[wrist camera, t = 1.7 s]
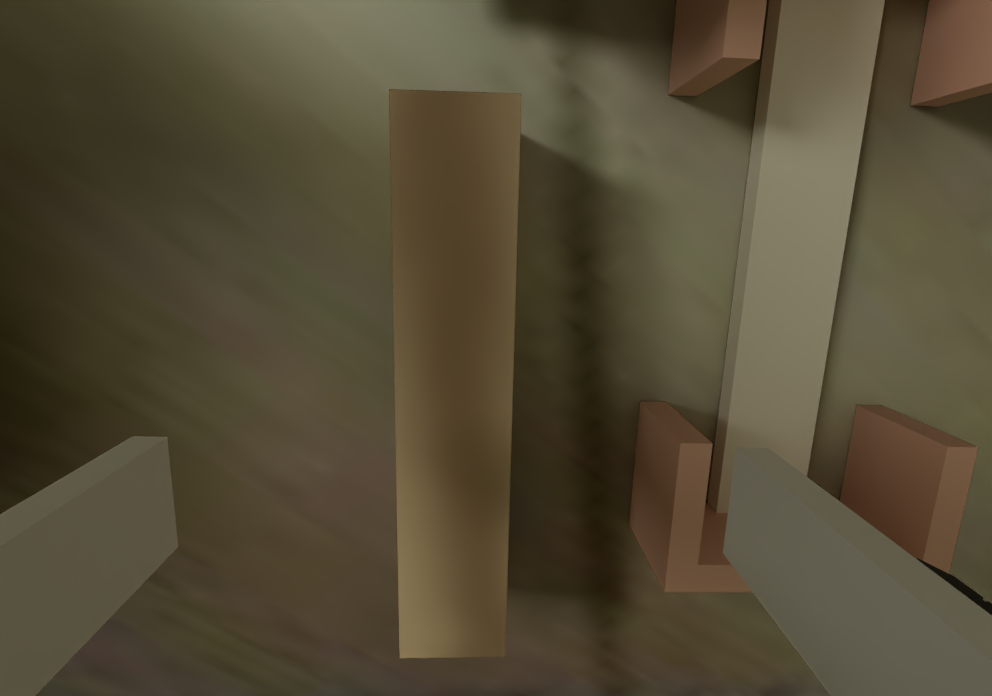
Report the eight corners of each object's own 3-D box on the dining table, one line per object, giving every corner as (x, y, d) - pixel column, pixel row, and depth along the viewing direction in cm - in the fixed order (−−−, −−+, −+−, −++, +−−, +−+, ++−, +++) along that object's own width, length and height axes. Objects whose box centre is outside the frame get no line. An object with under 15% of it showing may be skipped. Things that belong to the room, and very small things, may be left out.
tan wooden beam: (415, 563, 27) (399, 657, 21) (411, 125, 22) (389, 89, 16) (498, 563, 27) (505, 656, 21) (508, 128, 22) (521, 93, 17)
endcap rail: (629, 524, 26) (664, 592, 21) (683, -80, 21) (747, -174, 16) (858, 526, 27) (944, 592, 22) (970, -63, 21) (1116, -149, 17)
